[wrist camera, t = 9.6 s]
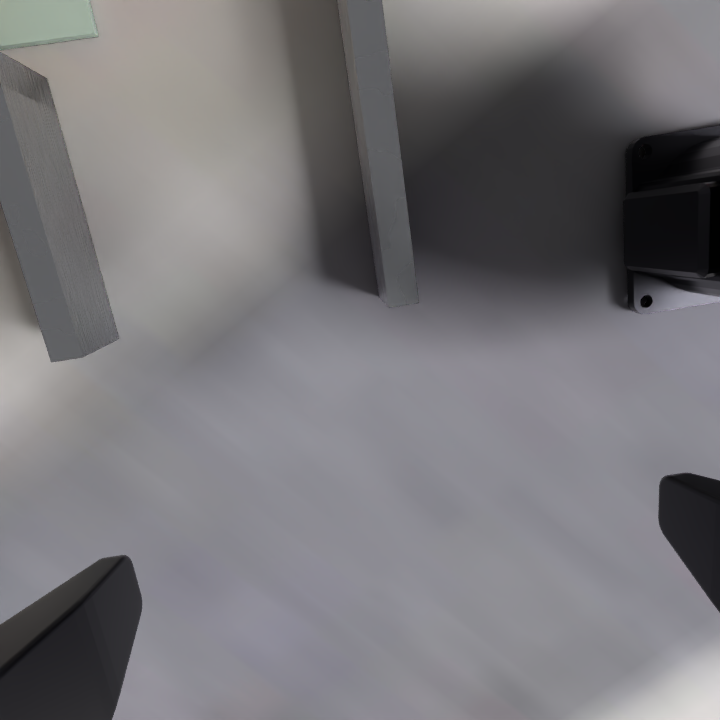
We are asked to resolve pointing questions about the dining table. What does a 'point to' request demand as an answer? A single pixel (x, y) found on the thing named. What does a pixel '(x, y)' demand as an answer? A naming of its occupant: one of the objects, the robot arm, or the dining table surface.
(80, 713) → the robot arm
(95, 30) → the pad
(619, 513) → the dining table surface
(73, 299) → the steel rail course
